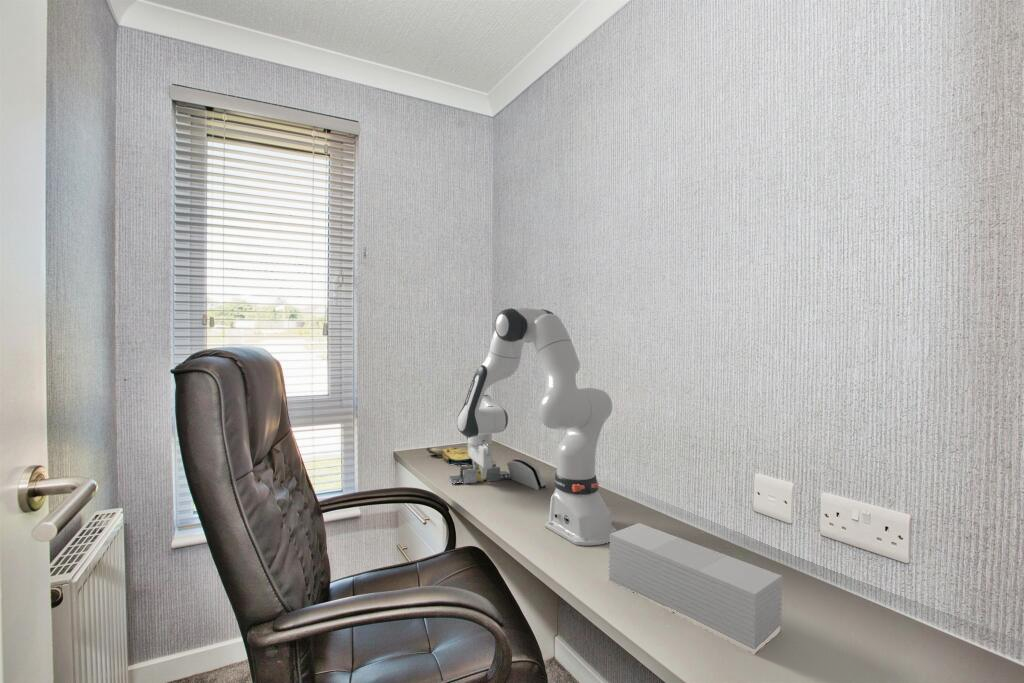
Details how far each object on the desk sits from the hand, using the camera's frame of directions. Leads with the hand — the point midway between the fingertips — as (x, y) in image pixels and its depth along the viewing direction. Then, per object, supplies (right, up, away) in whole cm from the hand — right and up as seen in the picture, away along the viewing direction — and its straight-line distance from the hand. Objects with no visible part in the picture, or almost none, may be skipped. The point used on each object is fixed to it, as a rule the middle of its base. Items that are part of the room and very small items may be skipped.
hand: (479, 474), depth 183 cm
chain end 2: (+7, -2, +2) cm, 7 cm away
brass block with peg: (0, -2, 0) cm, 2 cm away
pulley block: (-13, -2, +29) cm, 32 cm away
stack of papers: (+48, -4, -83) cm, 96 cm away
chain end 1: (-7, -2, -2) cm, 7 cm away
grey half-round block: (+17, -3, -3) cm, 17 cm away
